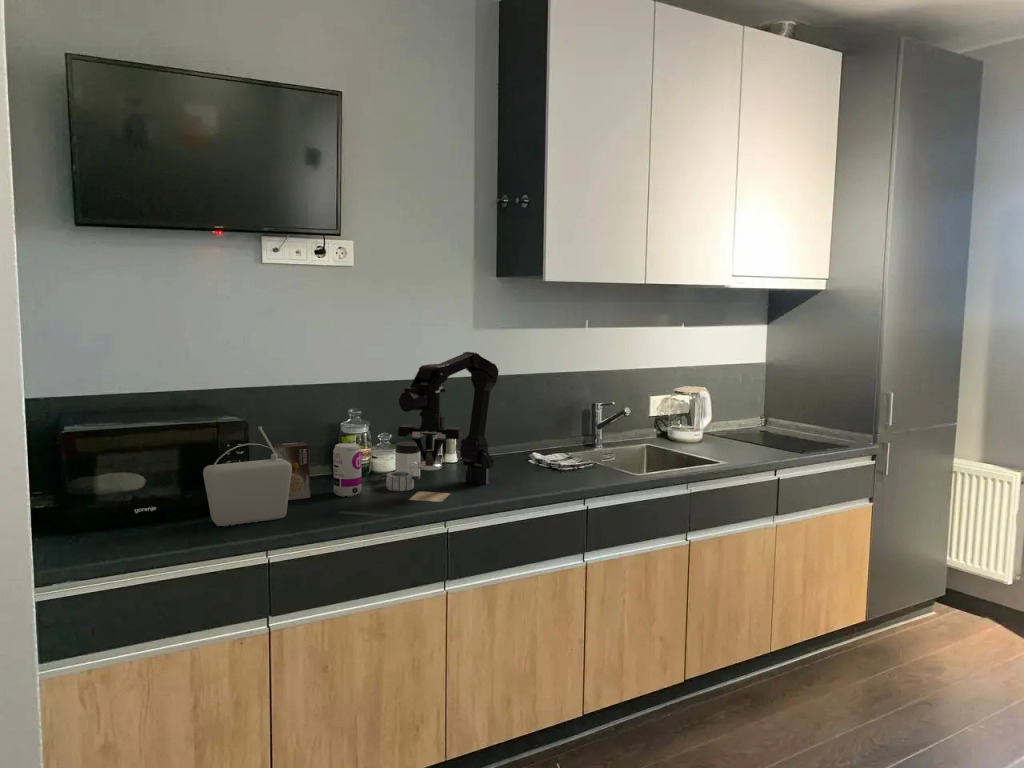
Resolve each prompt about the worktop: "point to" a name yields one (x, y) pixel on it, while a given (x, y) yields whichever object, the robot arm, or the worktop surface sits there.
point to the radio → (248, 489)
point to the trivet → (430, 496)
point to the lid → (429, 462)
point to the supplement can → (347, 469)
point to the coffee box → (296, 467)
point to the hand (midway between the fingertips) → (430, 460)
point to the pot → (400, 480)
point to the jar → (407, 457)
